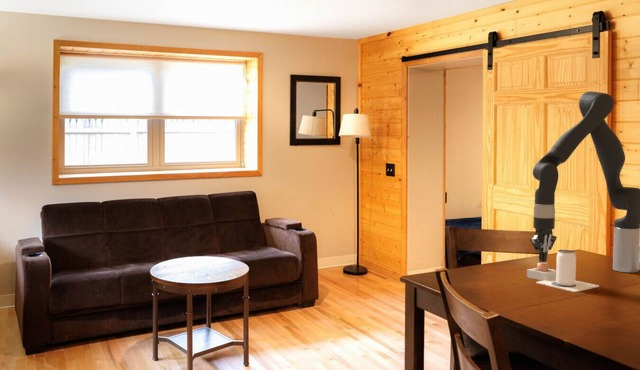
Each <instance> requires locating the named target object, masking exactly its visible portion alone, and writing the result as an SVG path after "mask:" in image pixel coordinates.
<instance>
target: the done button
mask: <svg viewBox="0 0 640 370" xmlns="http://www.w3.org/2000/svg"><path fill="white" fill-rule="evenodd" d="M536 265H537V267H536V268H537V271H542V272H547V271H548V269H550V268H549V266H550V265H549V262H540V261H539V262H537V264H536Z"/></svg>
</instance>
